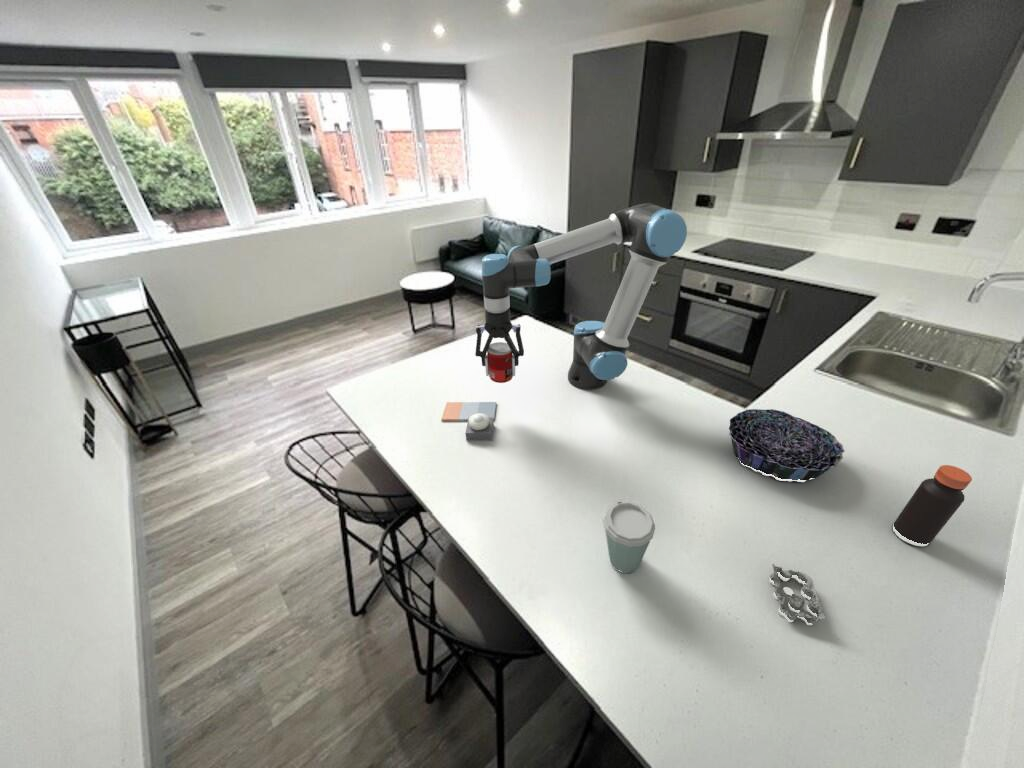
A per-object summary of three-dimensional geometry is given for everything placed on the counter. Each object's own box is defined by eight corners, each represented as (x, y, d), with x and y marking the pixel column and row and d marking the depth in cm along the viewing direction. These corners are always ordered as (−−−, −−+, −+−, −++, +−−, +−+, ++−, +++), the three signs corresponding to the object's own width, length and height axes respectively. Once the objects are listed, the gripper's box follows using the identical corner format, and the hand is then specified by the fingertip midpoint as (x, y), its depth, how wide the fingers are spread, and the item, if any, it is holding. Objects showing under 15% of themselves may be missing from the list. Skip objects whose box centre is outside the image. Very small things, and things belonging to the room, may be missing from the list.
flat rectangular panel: (496, 403, 148) (496, 401, 148) (494, 420, 140) (493, 419, 139) (446, 404, 149) (446, 402, 149) (441, 421, 141) (441, 419, 140)
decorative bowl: (735, 424, 135) (740, 398, 130) (839, 451, 119) (850, 423, 115) (712, 469, 119) (717, 442, 114) (830, 509, 103) (841, 479, 98)
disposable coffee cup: (657, 575, 90) (667, 530, 82) (612, 589, 88) (619, 545, 80) (631, 536, 99) (639, 492, 91) (590, 548, 97) (594, 505, 89)
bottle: (883, 523, 99) (925, 461, 88) (913, 523, 98) (958, 461, 88) (905, 548, 93) (952, 485, 82) (937, 548, 93) (988, 485, 82)
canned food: (510, 384, 132) (509, 354, 126) (486, 382, 133) (484, 352, 127) (515, 372, 138) (514, 342, 132) (492, 370, 140) (490, 341, 134)
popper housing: (493, 424, 138) (492, 417, 136) (491, 440, 131) (490, 432, 130) (469, 424, 138) (468, 417, 137) (466, 440, 132) (465, 433, 130)
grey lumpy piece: (765, 572, 90) (770, 561, 88) (804, 580, 88) (811, 569, 86) (776, 621, 82) (783, 609, 79) (820, 631, 80) (828, 619, 77)
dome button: (490, 423, 137) (489, 410, 134) (488, 436, 131) (487, 422, 128) (471, 423, 137) (469, 410, 134) (468, 436, 132) (467, 422, 129)
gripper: (532, 303, 125) (532, 367, 138) (464, 304, 126) (470, 368, 139) (532, 313, 119) (532, 379, 131) (460, 314, 120) (467, 380, 132)
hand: (500, 373), depth 135 cm, fingers closed on canned food, 8 cm apart
